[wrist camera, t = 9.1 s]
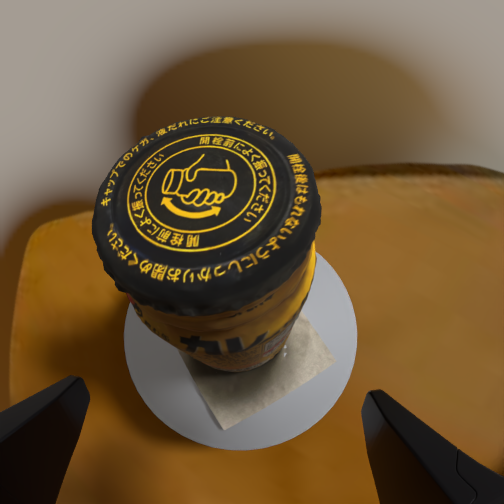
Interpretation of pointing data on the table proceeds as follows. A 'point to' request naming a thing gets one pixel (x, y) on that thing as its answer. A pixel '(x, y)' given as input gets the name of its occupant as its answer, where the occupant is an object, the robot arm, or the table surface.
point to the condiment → (219, 255)
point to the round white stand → (273, 416)
